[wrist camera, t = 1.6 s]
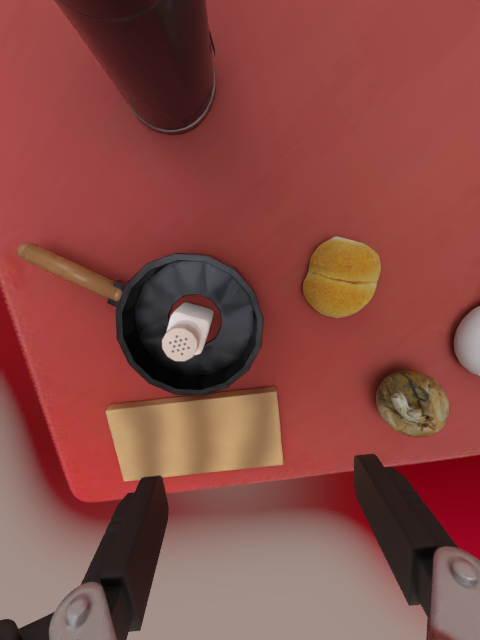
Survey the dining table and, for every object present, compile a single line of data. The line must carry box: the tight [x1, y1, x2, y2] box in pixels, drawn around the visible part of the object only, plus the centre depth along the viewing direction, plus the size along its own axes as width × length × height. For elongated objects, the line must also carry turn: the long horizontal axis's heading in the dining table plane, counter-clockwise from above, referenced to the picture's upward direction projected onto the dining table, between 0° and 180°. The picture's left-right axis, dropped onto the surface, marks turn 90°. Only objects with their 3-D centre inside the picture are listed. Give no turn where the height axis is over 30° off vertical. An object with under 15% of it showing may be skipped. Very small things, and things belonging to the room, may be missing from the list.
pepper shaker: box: [162, 302, 214, 361], centre depth 29 cm, size 4×4×10 cm
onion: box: [376, 370, 449, 437], centre depth 32 cm, size 8×8×8 cm
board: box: [105, 386, 283, 481], centre depth 36 cm, size 22×11×2 cm, turn 97°
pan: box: [17, 243, 263, 396], centre depth 31 cm, size 27×16×4 cm, turn 64°
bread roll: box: [303, 236, 381, 318], centre depth 30 cm, size 8×9×4 cm
